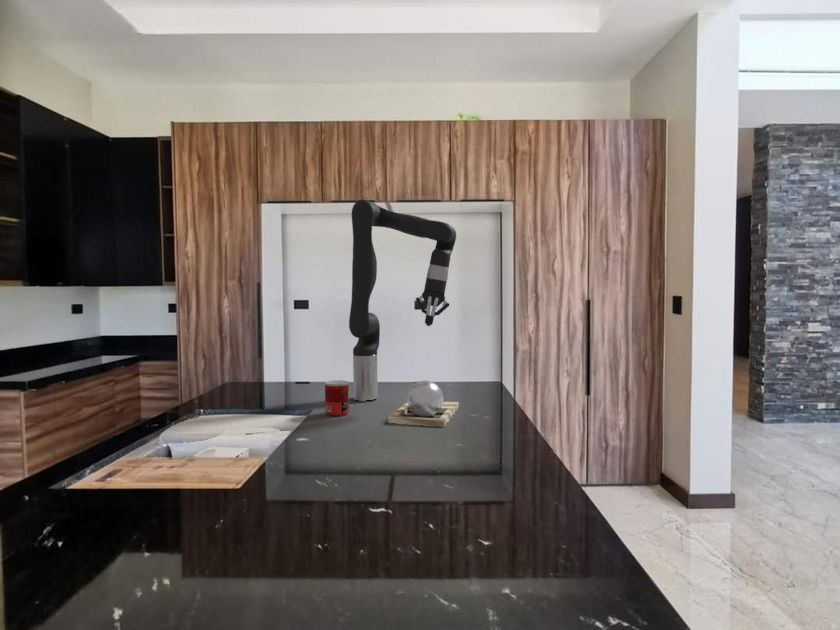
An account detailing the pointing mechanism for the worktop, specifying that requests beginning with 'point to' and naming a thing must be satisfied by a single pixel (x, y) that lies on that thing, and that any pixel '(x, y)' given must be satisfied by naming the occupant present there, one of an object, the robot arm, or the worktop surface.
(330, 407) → the canned food
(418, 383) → the ball
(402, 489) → the worktop surface
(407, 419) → the hole board
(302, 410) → the worktop surface
